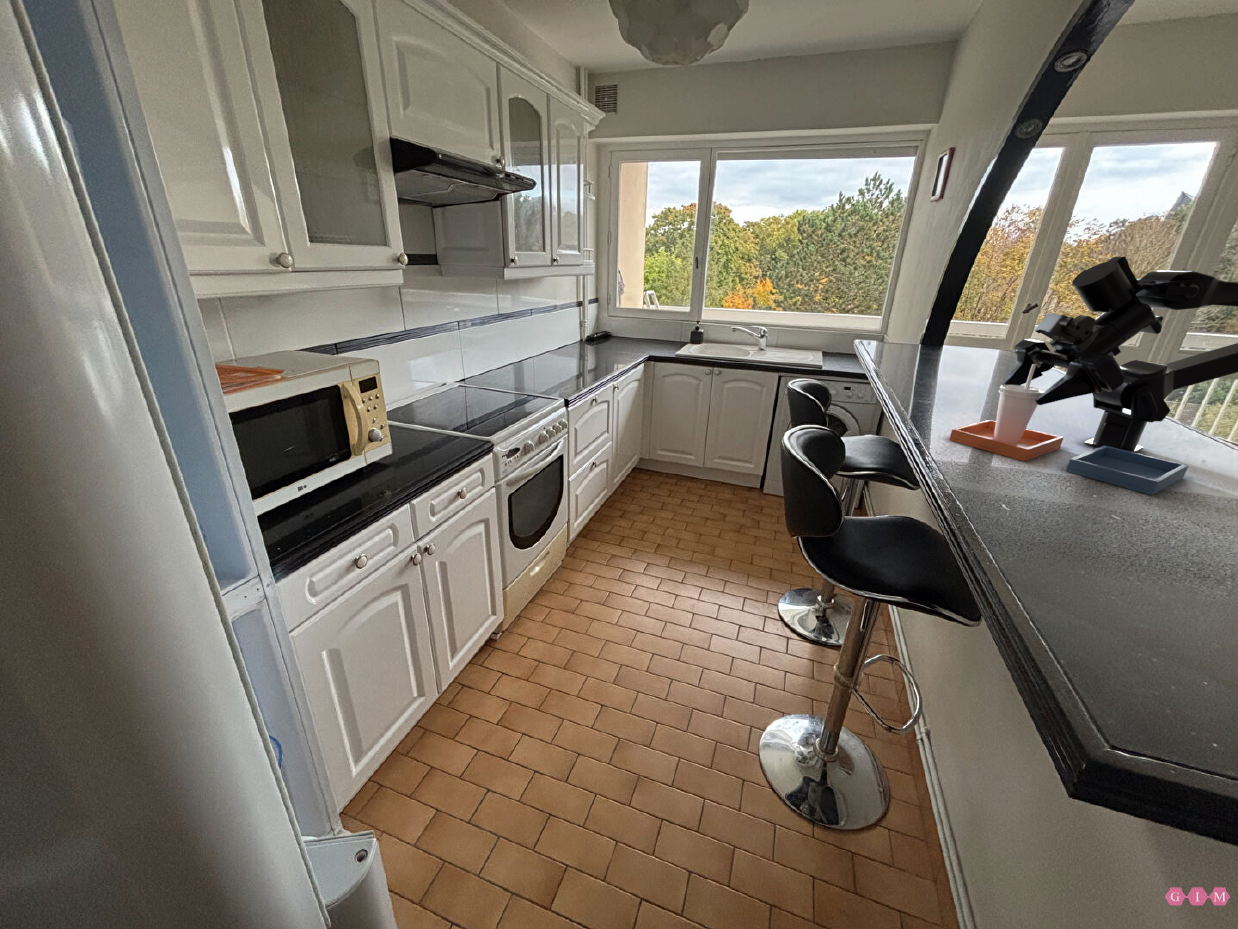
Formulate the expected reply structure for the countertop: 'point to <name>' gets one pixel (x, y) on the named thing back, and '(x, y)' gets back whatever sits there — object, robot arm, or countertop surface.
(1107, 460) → the blue tray
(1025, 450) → the orange tray
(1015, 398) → the smoothie
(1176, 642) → the countertop surface
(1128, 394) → the robot arm
